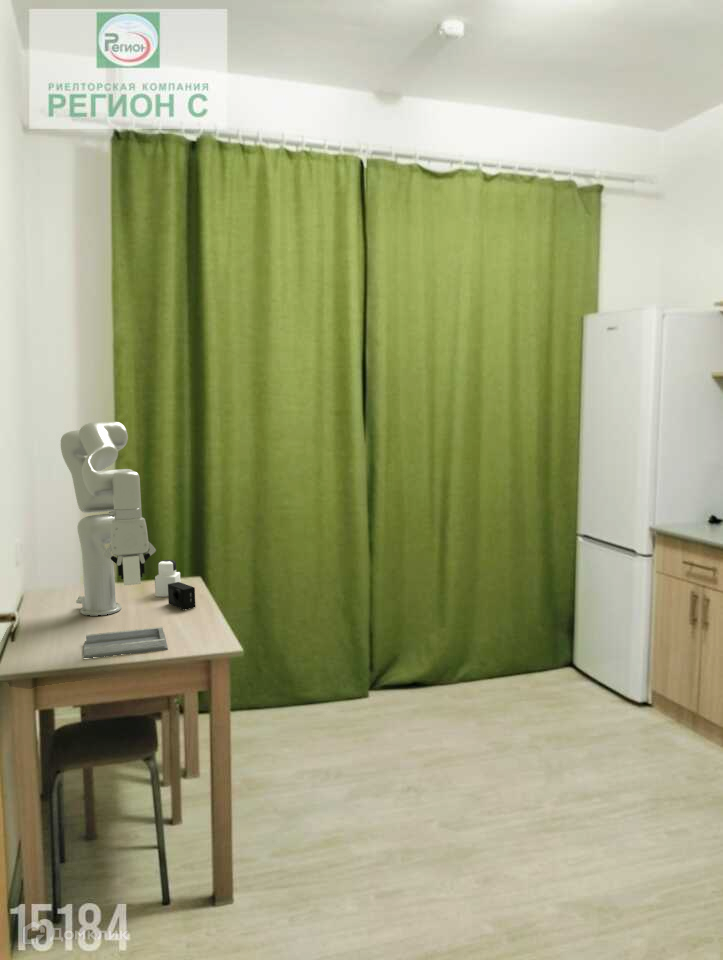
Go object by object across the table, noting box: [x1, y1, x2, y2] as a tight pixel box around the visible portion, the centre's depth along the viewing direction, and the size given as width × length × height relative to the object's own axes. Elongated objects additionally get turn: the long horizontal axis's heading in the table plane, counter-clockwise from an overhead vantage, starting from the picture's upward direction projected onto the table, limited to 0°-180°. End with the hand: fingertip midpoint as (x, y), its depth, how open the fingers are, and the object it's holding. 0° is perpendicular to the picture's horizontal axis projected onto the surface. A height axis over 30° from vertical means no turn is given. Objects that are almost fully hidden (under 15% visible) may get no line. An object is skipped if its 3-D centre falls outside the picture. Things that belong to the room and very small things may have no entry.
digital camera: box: [167, 582, 196, 611], centre depth 251 cm, size 10×5×7 cm, turn 43°
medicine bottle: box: [154, 559, 182, 598], centre depth 266 cm, size 7×7×12 cm
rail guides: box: [85, 626, 166, 656], centre depth 212 cm, size 21×12×2 cm, turn 108°
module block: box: [122, 554, 141, 586], centre depth 217 cm, size 4×7×8 cm, turn 19°
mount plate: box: [82, 633, 169, 659], centre depth 212 cm, size 22×14×1 cm, turn 108°
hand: (131, 576), depth 218 cm, fingers closed on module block, 4 cm apart
